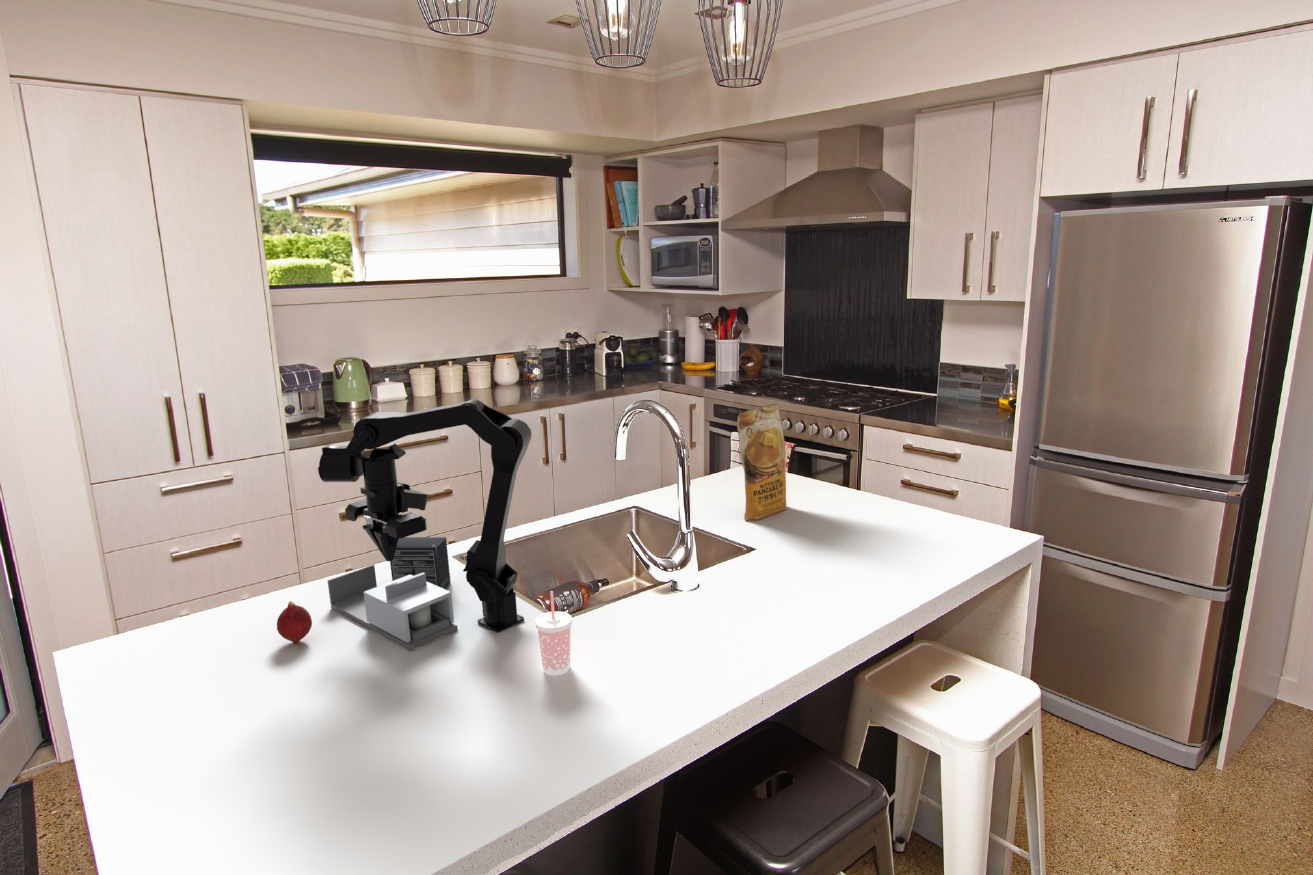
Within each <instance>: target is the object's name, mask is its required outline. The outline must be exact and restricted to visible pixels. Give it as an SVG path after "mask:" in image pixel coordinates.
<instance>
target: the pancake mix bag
mask: <svg viewBox="0 0 1313 875" xmlns="http://www.w3.org/2000/svg"><path fill="white" fill-rule="evenodd" d="M780 412H781V411H780V407H779V405H777V403H772V404H768V405H765V406H760V407H756V408H753V409H748V410H746V411H743V412H740V413H739V414H738V416H737V419H736V420H737V421H736V428H737V434H738V440H739V452H740V455H739V456H740V461H741V464H742V467H743V468H742V469H743V472H744V473H743V475H744V490H745V491H744V492H745V512H744V518H743V519H744V521H758V520H762V519H764V518H768V517H771V516H773V515H777V514H779V513H781V512H784V511H785V510H787V477H786V475H787V474H786V470H787V469H786V466H787V465H786V462H787V461H786V446H785V435H784V430H783V423H782V417H781V413H780Z"/></svg>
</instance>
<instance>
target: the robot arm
mask: <svg viewBox="0 0 1313 875" xmlns="http://www.w3.org/2000/svg"><path fill="white" fill-rule="evenodd" d="M460 426H467V427H468V428H470V429H472V431H473V432H474V433H475V434H476V435H477V436H478V437H479V438H480V440H482V441H484V442H485V443H487V444H488V445H490V458H491V459H490V460H491V464H492V468H493V470H492V477H491V483H490V487H489V492H488V498H487V503H486V508H485V513H484V520H483V524H482V530H481V536H480V540H479V539H476V540H475V541H474V543H473V544H472V545H471V546H470V548H469V549H468V550H467V552H466V562H465V563H466V564H465V567H464V569H463V570H462V571H463V573H464V572H465V579H466V582H467V583H468V584H469V585H470V587H472V588H473V590H474V592H475V593H476V595H477V597H478V600H479V601H480V602H481V607H482V615H483V617H481V618H479V619H477V624H479V625H481V626H483V627H485V628H487V629H489V630H492V631H494V632H498V633H499V632H502V631H504V630H506V629H509V628H510V627H513V626H514V625H517V624H519V623H521V622H523V621H524V620H525V617H524V616H522V615H520V614H518V611H517V610H518V608H517V594H516V592H515V590H514V588H513V586H514V584H516V583H517V581H518V580H517V579H518V576H519V572H518V571H517V570H515V569H514V568H513V567H512V566H511V565H509V564H508V563H507V561H506V560H507V558H506V554H507V551H506V545H505V541H504V540H505V534H506V528H507V524H508V518H509V515H510V514H509V513H510V509H511V502H512V499H513V498H512V497H513V493H514V488H515V485H516V484H515V483H516V478H517V472H518V470H519V467H520V465H521V463H522V461H523V460H524V457H525V454H526V452H527V450H528V447H529V445H530V442H531V440H532V429H531V428H530V427H529V425H528V423H526V422H525V421H523V420H521V419H517V418H512V417H511V416H509V415H508V414H506V413H504V412H502V411H500V410H497V409H495V408H493V407H491V406H488V405H487V404H485V403H484V402H482V401H481V400H479V399H476V398H475V399H474V398H472V399H469V400H467V401H463V402H458V403H457V402H456V403H453V404H448V405H447V404H446V405H443V406H442V405H441V406H438V407H433V408H427V409H421V410H416V411H411V412H401V411H376V412H373V413H371V414H369V415H367V416H365V417H363V418H361V419H359V420H358V421H356V423H355V424H354V426H353V431H352V433H353V435H352V438H351V439H350V441H349V442H348V444H347V445H335V444H327V445H324V446H323V447H321V452H322V453H321V456H320V458H319V463H318V467H317V472H318V476H319V479H320V480H321V481H322V482H324V483H355V482H357V481H358V480H359V479H360V477H362V476H363V483H364V487H363V486H362V487H360V494H361V495H365V497H366V498H365V499H362V500H359V501H355V502H351V503H348V505H347V506H346V508H344V509H345V510H344V511H345V512H344V513H345V519H346V520H348V521H350V522H356V521H357V520H358V517H359V516H363V519H365V524H364V525H362V529H363V531H365V532H366V534H367V535H368V536H369V537H370V538H371V540H372V541H373V543H374V544H375V546H376V547H377V549H378V550H379V552H380V553H381V555H382V556H383V557H384V560H385V561H387V562H390V561H392V560H393V559H394V556H395V551H396V547H397V543H398V539H399V538H404V537H411V536H413V535H416V534H418V533H423V532H425V531H427V530H428V526H427V518H425V517H424V516H422V515H420V514H416V513H414V512H409V510H408V509H414V510H419V511H426V509H427V502H428V498H429V493H425V492H422V491H419V490H415V489H411V486H410V484H407V483H403V482H398V477H397V476H398V475H397V467H396V460H399V459H401V458H402V457H404V456H406V455H407V452H406V450H404V449H403V448H402V447H399V446H398V444H396V443H393V444H392V445H390V446H389V447H383V446H386V445H388V444H391V443H392V442H396V441H397V440H399V439H403V438H405V437H408V436H412V435H417V434H421V433H422V434H423V433H428V432H434V431H437V430H443V429H444V430H445V429H449V428H454V427H460ZM366 450H372V451H371V452H364V451H366ZM406 512H407V513H406ZM400 513H402V514H400Z"/></svg>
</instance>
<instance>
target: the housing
mask: <svg viewBox="0 0 1313 875" xmlns="http://www.w3.org/2000/svg"><path fill="white" fill-rule="evenodd" d="M376 577H377V576H376V568H375V564H371V565H367V566H365V567H362V568H359V569H356V570H354V571H351V572H347V573H345V574H341V575H338V576H336V577H333V578H330V579H327V587H328V588H327V589H328V594H329V595H328V596H329V600H330V603H329V604H330V608H331V609H333V610H335V612H338V613H339V614H340V615H341V614H342V615H343V616H346V617H347V618H348V619H351V620H353V621H354V622H356V623H358V624H360V625H362V626H363V627H365V628H368V629H369V630H371V631H373V632H375V633H377V634H379V635H380V636H382V637H384V638H386V639H388V640H390V641H392V642H393V643H395V644H398V645H399V646H401V647H403V648H404V649H406V650H408V651H410V652H412V651H414V650H417V649H418V648H421V647H423V646H424V645H427V644H429V643H432V642H434V641H437V640H438V639H440V638H443V637H444V636H447V635H450V634H451V633H454V632H456V631H458V629H459V628H458V624H456V623H454V622H453V623H449V619H448V618H446V617H444V616H442V615H440V614H437V613H435V612H433V611H431V610H430V605H428V606H426V607H424V608H421V609H419V610H416V611H414V612H412V613H409V614H408V620H409V631H410V640H411V641H410V642H408V643H407V642H405V641H403V640H401V639H399V638H397V637H395V636H393V635H392V634H390V633H388V632H386V631H384V630H382V629H380V628H378V627H376V626H375V625H373V624H371V623H369V622H367V616H366V608H365V600H364V591H367V590H370V589H372V588H375V587H378V584H377V578H376Z"/></svg>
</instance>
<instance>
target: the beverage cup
mask: <svg viewBox="0 0 1313 875" xmlns="http://www.w3.org/2000/svg"><path fill="white" fill-rule="evenodd" d="M549 594H550V608H551V611H547V612H545V613H541V614H540V615H538V616H537V617H536V618H535V620H534V623H535V628H536V629H537V634H538V642H539V650H540V657H541V666H542V671H543V673H544V674H545V675H547V676H561V675H564V674H566V673H567V672H569V671H570V669H571V626H572V625H573V622H572V621H573V618H572V615H571V614H569V613H568V612H564V611H555V599H554V591H553V590H550V591H549Z"/></svg>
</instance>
